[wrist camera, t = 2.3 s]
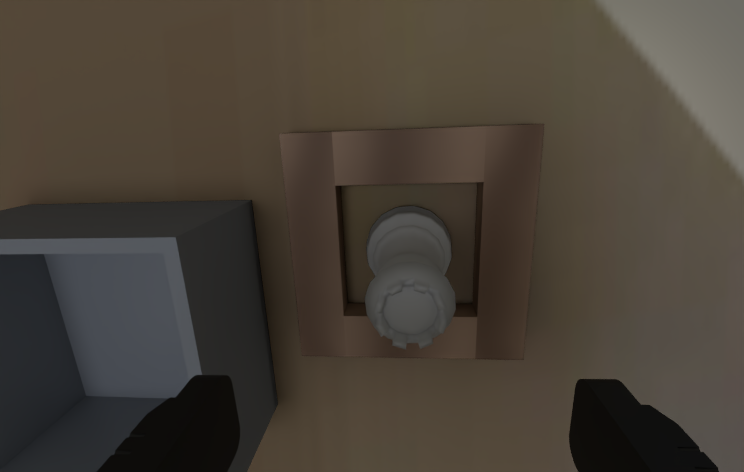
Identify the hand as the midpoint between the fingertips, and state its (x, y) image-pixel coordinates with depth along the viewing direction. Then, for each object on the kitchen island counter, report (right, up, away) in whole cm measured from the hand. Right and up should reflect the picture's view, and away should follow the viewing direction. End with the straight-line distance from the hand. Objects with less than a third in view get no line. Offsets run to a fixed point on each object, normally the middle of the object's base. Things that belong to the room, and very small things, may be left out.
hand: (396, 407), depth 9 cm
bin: (-13, 0, +14) cm, 19 cm away
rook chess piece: (+1, +4, +12) cm, 12 cm away
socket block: (+1, +4, +11) cm, 12 cm away
